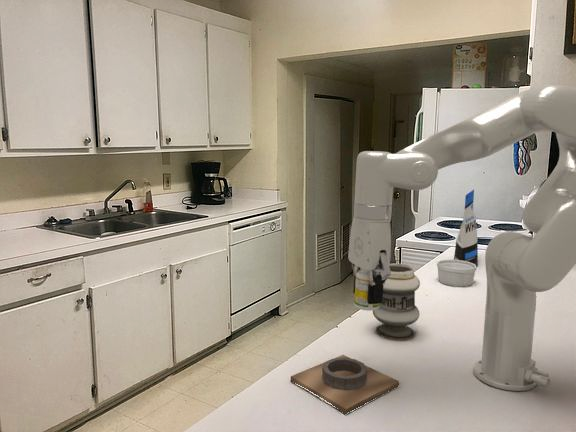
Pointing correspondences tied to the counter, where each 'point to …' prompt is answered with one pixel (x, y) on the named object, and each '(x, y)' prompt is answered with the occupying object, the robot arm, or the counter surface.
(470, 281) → the ramekin
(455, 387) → the counter surface
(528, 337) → the robot arm
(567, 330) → the counter surface
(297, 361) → the counter surface
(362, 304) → the supplement bottle
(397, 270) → the apothecary jar
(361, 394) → the stand board
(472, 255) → the protein powder
